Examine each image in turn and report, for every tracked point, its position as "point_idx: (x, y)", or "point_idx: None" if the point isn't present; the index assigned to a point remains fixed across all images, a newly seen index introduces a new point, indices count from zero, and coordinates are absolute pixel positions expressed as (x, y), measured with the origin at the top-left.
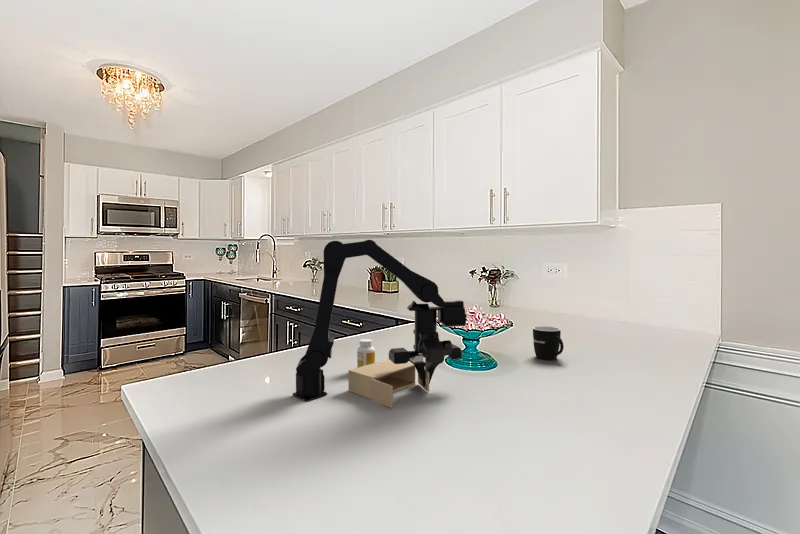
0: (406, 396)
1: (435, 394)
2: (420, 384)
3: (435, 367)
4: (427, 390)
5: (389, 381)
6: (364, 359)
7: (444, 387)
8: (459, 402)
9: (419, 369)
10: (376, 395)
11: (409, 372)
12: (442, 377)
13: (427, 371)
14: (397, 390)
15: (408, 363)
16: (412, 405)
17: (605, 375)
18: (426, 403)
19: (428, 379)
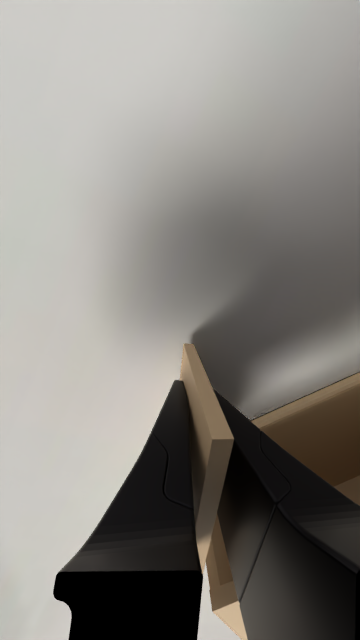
0: (297, 334)
1: (162, 311)
2: None
3: (107, 525)
4: (194, 346)
5: None
6: None
7: (74, 386)
8: (77, 111)
9: (342, 494)
10: None
11: (219, 528)
12: (35, 497)
13: (214, 466)
14: (292, 404)
15: (244, 627)
16: (345, 207)
17: None
18: (271, 201)
19: (201, 384)
